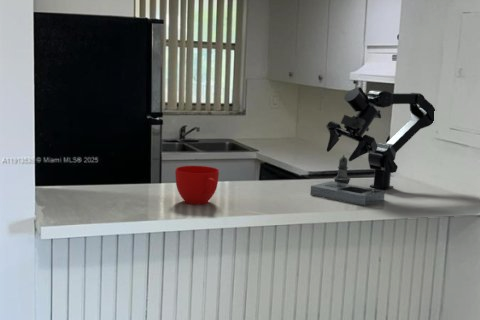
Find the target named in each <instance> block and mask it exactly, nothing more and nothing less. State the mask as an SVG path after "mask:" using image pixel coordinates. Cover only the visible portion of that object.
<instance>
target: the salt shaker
mask: <svg viewBox="0 0 480 320" xmlns="http://www.w3.org/2000/svg"><path fill="white" fill-rule="evenodd" d="M337 168H338V170H337V171H338V172H337V175H336V176H334V177H333V179H334V181H333V182H339V183H344V184H349V183H350V180H351V178H350V177H348V169H349V167H348V158H347V157H346V156H345V154H342V157H340V158H339V161H338V167H337Z"/></svg>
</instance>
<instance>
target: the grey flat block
mask: <svg viewBox="0 0 480 320" xmlns="http://www.w3.org/2000/svg"><path fill="white" fill-rule="evenodd" d="M310 196H315V197H319V198H324V199H329V200H334V201H340V202H344V203H349V204H353V205H354V204H355V205H359V206H363V207H365V206H368V205H372V204H375V203H378V202H382V201H384V200H385V190H384V189H378V188H373V187H365V186H361V185H360V186H359V185H355V184H349V183H348V184H344V183H339V182H335V181H333V180H331V181H326V182H322V183H318V184H313V185H310Z"/></svg>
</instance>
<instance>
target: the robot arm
mask: <svg viewBox="0 0 480 320" xmlns="http://www.w3.org/2000/svg"><path fill="white" fill-rule="evenodd" d="M343 100H344V101H345V102H346V103H347V105H348V106H349V107H350V108H351V109H352V110H353V111H354V112H356V115H353V116H349V115H347V114H344V115H343V117H342V119H341V120H340V123H338V122H335V121H332V120H331V121H329V122H327V124H325V128H326V129H327V130H328V132H329V133H328V134H329V139H328V143H327V147H326V152H327V153H329V152H330V151H331V150H332V149H333V148H334V147H335V145H336V144H337V143H338V142H339V141H340V138H341V137H342V136H343V137H345V138H348V139H351V140H354V141H356V142H358V144H357V146H356V148H355V149H354V150H353V152H352V153H351V155H350V156H349V158H348V161H349V162H353V161H354V160H355V159H357V158H359V157H361V156H364V155H365V154H367V153H368V155H367V161H368V164H369V165H368V166H369V169H370V170H374V175H373V177H374V178H373V184H371V185H369V188H373V189H378V190H384V191H386V190H390V189H393V188H394V185H391V176H392V174H393V173H396V172H397V170H398V165H397V163H396V162H395V159H396V155H397V153H398V152H399V151H400V150H401V149H402V148H403V146H405V144H407V143H408V142H409V141H410V140H411V139H412V138H413V137H414V136H415V135H416V134H417V133H418V132H419V131H420V130H421V129H425V128H427V127H430V126H431V125H432V123H433V121H434V111H435V109H436V108H435V107H434V105H433V104H432V103H430V101H429V100H427V98H425V96H424V95H423V94H422V93H420V92H419V93H418V92H410V93H406V92H404V93H403V92H400V93H399V92H397V93H395V92H390V91H387V90H386V91H385V90H376V89H371V90H369V91H368V93H365V92H364V90H363V88H362V87H361V86H355V87H354V88H353V89H351V90H349V91H348V92H347V93H345V95H344V98H343ZM393 105H409V111H410V112H411V114H410V117H409V121H407V123H405V124H404V125H403V127H401V128H400V129H399V130H398V131H397V132H396V133H395V134H394V135H393V136H392V137H391V138H390V139H389V140H388V141H387V142H386V143H380V142H377V141H376V139H375V137H372V136H370V135H368V134H365V133H366V132H369V130H370V128H369V126H370V125H371V124H372V122H373V121H374V119H382V115H381V109H382V108H389V107H391V106H393ZM377 108H381V109H380V110H378V109H377ZM433 124H434V123H433ZM341 125H344V126H343V127H344V129H343V128H342V126H341Z"/></svg>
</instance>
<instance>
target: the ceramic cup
mask: <svg viewBox="0 0 480 320" xmlns="http://www.w3.org/2000/svg"><path fill="white" fill-rule="evenodd" d="M219 174H220V171H219V169H218V168H216V167H211V166H205V165H185V166H184V165H183V166H177V167H176V168H175V184H176V189H177V191H178V194H179V196H180V197H181V199H182V200H183V201H184V202H185V203H186V204H188V203H189V204H188V205H195V204H199V205H205V203H206V204H208V201H210V200H211V199H212V198H213V196H214V194H215V193H216V190H217V187H218V183H219Z"/></svg>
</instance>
